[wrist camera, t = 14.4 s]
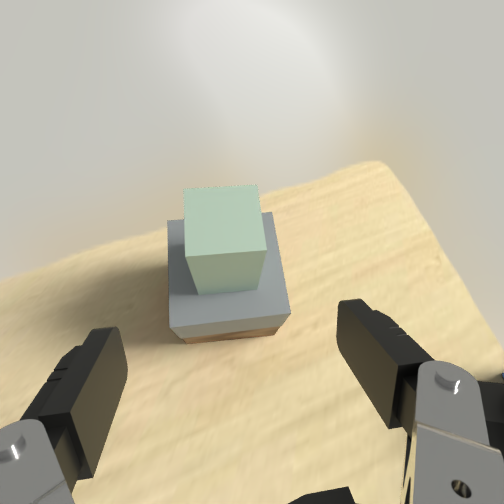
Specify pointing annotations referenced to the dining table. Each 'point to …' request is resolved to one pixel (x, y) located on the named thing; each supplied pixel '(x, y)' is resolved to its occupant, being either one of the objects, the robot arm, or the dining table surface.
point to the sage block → (224, 238)
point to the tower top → (229, 303)
